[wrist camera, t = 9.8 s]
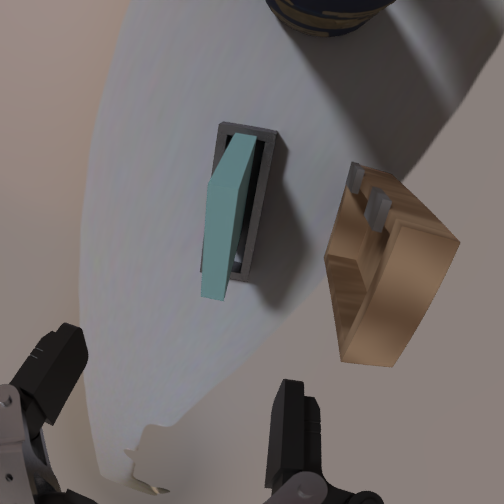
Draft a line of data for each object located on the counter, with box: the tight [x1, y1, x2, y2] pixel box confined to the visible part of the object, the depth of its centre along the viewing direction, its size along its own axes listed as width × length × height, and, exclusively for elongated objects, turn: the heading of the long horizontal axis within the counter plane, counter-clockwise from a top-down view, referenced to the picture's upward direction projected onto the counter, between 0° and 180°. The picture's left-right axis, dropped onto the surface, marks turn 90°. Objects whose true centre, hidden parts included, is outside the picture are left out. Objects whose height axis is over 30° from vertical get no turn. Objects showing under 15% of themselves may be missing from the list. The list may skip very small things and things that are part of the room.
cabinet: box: [324, 162, 460, 367], centre depth 23 cm, size 10×5×14 cm, turn 170°
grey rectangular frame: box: [200, 122, 277, 282], centre depth 29 cm, size 15×5×2 cm, turn 170°
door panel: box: [201, 133, 257, 301], centre depth 25 cm, size 10×2×9 cm, turn 170°
